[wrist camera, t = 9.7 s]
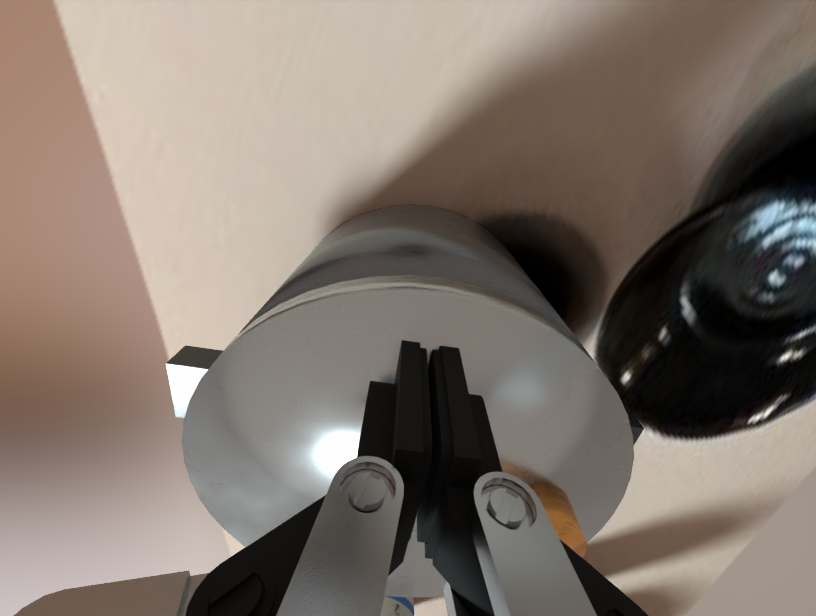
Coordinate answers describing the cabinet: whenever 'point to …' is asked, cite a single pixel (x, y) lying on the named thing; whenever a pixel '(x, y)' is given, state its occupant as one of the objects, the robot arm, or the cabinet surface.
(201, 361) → the pot
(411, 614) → the supplement tub
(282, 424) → the lid
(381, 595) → the robot arm
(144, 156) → the cabinet surface
